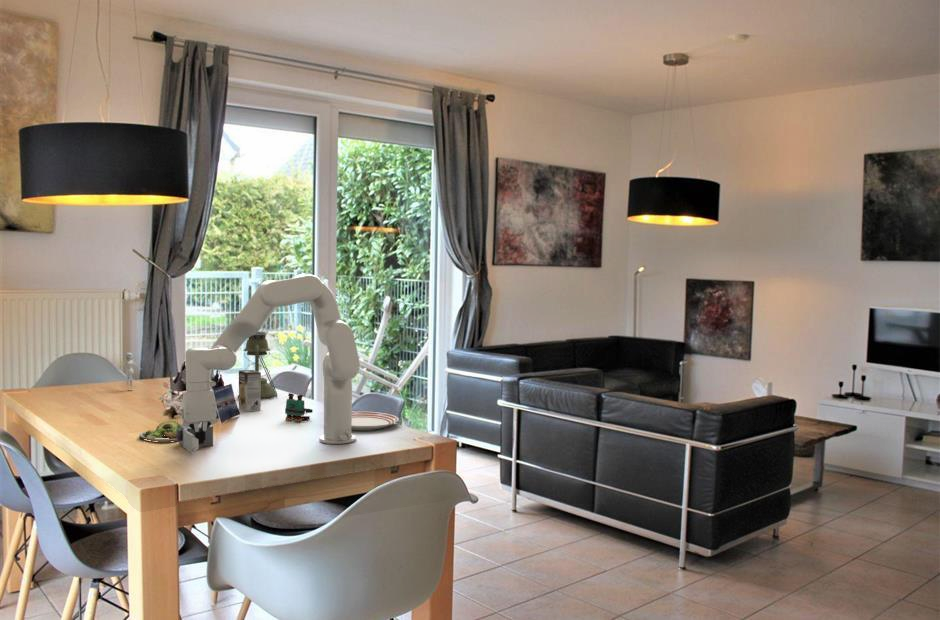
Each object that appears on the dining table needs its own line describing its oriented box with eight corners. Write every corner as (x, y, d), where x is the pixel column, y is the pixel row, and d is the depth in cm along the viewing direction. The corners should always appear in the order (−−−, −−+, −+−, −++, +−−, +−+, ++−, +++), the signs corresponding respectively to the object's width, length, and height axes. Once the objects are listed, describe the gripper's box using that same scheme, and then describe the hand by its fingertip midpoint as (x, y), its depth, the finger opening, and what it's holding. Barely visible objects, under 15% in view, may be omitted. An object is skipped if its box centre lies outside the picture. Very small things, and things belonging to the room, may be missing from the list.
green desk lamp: (238, 393, 359) (238, 330, 357) (277, 392, 364) (277, 329, 362) (237, 401, 339) (237, 333, 338) (277, 400, 344) (278, 333, 342)
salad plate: (211, 438, 268) (211, 424, 268) (165, 447, 253) (165, 433, 253) (178, 430, 279) (178, 418, 279) (132, 439, 264) (132, 425, 264)
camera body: (213, 445, 255) (212, 424, 255) (180, 449, 250) (180, 427, 249) (206, 440, 263) (206, 419, 262) (175, 443, 257) (175, 422, 257)
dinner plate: (400, 419, 306) (400, 410, 306) (396, 434, 279) (396, 424, 279) (331, 418, 305) (331, 410, 305) (320, 433, 278) (320, 424, 278)
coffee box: (238, 408, 322) (238, 370, 321) (252, 406, 326) (252, 369, 325) (246, 411, 315) (246, 372, 314) (261, 410, 319) (261, 371, 318)
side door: (195, 455, 239) (195, 436, 239) (183, 447, 250) (183, 429, 249) (198, 455, 240) (198, 436, 240) (186, 447, 250) (186, 429, 250)
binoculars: (317, 394, 303) (300, 395, 294) (315, 421, 303) (298, 422, 294) (299, 392, 307) (282, 393, 298) (297, 418, 307) (280, 420, 298)
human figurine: (117, 392, 357) (117, 353, 356) (114, 391, 360) (114, 353, 359) (143, 389, 365) (143, 352, 365) (140, 388, 368) (140, 351, 367)
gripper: (219, 382, 252) (221, 438, 253) (171, 387, 244) (173, 443, 245) (225, 386, 245) (226, 442, 247) (176, 390, 238) (178, 448, 239)
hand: (200, 443), depth 246 cm, fingers closed
